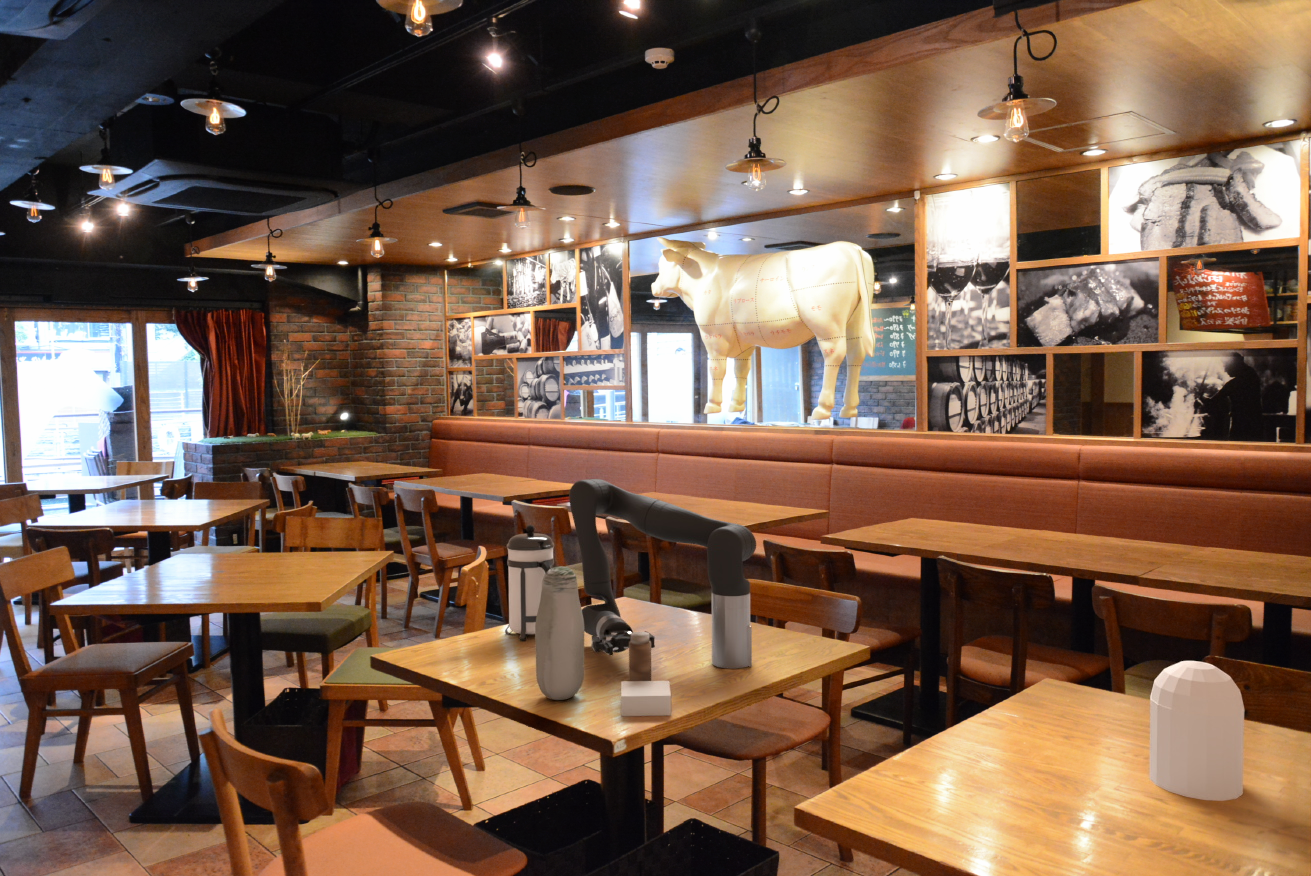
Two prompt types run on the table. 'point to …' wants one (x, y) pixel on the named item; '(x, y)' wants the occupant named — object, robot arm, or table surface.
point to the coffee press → (527, 578)
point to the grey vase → (559, 635)
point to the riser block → (645, 698)
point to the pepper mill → (640, 657)
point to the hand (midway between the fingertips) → (630, 649)
